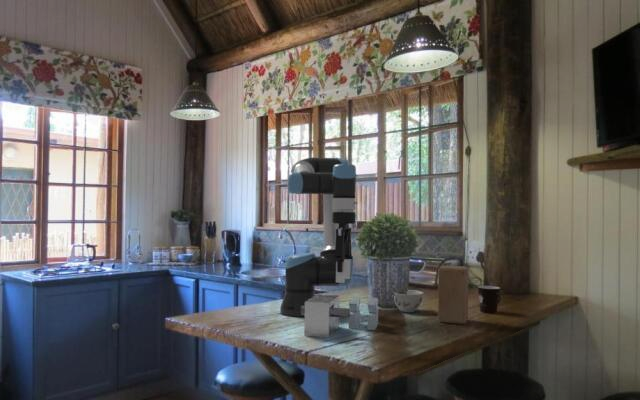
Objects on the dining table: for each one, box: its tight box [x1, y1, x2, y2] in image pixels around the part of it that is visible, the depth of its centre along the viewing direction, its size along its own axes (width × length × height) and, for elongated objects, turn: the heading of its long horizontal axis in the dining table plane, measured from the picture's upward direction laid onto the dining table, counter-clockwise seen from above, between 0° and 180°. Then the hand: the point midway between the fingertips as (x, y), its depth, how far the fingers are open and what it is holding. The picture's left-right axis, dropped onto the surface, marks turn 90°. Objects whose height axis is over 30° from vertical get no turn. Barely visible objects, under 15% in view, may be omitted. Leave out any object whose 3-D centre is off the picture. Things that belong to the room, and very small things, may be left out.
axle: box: [301, 306, 350, 319], centre depth 167 cm, size 16×3×3 cm, turn 76°
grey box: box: [303, 293, 340, 338], centre depth 170 cm, size 8×16×11 cm, turn 166°
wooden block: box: [437, 265, 469, 325], centre depth 189 cm, size 10×10×20 cm
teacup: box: [393, 289, 424, 313], centre depth 208 cm, size 15×12×8 cm
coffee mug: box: [477, 285, 501, 314], centre depth 206 cm, size 12×9×10 cm
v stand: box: [348, 296, 379, 331], centre depth 178 cm, size 9×9×10 cm
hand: (343, 280), depth 166 cm, fingers open, 9 cm apart
